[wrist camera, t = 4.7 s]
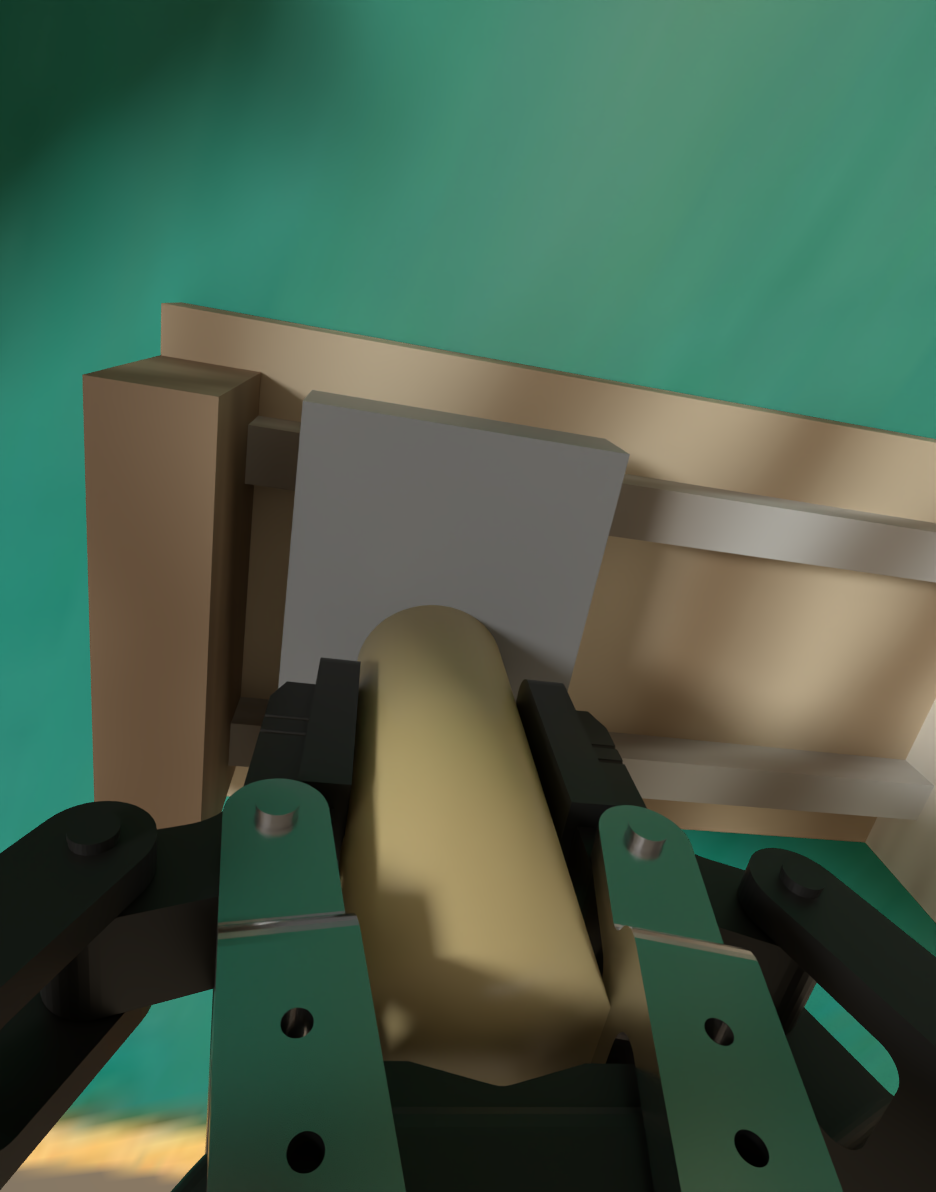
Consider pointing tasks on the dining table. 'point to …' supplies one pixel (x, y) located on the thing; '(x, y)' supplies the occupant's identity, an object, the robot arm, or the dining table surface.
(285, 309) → the dining table surface
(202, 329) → the rail board
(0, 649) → the dining table surface
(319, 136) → the dining table surface
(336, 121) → the dining table surface
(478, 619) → the carriage
